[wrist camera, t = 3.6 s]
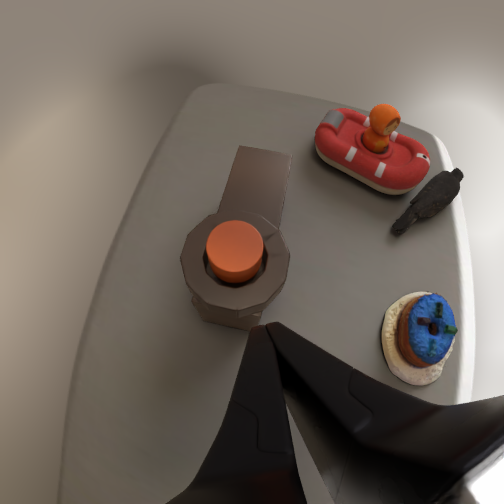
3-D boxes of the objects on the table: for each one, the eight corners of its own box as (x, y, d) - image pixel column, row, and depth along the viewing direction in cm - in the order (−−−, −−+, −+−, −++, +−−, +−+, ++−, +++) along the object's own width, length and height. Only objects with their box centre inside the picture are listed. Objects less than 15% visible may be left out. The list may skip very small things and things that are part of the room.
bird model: (456, 153, 27) (445, 164, 29) (391, 218, 24) (380, 228, 27) (474, 174, 26) (462, 185, 28) (413, 246, 24) (401, 254, 26)
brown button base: (266, 339, 22) (278, 319, 15) (190, 322, 22) (168, 294, 15) (292, 199, 27) (308, 140, 20) (229, 187, 27) (227, 126, 20)
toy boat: (406, 214, 27) (445, 168, 20) (301, 159, 29) (316, 101, 22) (418, 166, 29) (449, 120, 22) (328, 118, 31) (343, 65, 24)
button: (255, 288, 16) (257, 277, 14) (203, 277, 16) (199, 265, 14) (265, 241, 17) (268, 226, 15) (216, 231, 17) (214, 215, 15)
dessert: (382, 282, 23) (449, 273, 18) (413, 301, 26) (468, 296, 21) (369, 381, 20) (439, 387, 16) (403, 383, 24) (460, 386, 19)
